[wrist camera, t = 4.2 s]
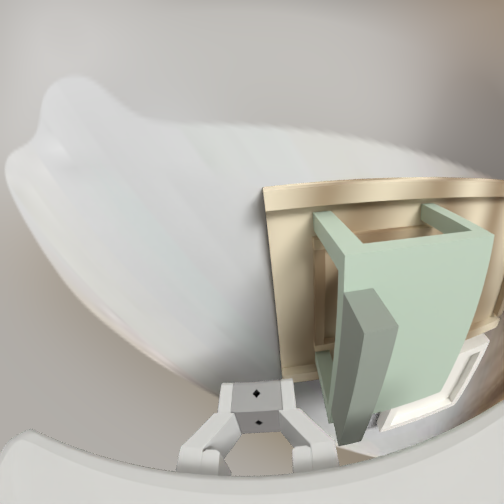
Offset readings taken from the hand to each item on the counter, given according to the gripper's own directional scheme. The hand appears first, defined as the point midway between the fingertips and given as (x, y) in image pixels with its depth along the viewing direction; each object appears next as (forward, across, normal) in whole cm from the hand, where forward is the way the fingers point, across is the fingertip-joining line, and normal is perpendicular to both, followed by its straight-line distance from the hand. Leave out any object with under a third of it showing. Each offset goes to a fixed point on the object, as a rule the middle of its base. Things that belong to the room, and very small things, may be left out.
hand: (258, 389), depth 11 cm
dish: (+7, -17, +14) cm, 23 cm away
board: (+7, -12, 0) cm, 14 cm away
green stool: (+7, -8, 0) cm, 10 cm away
